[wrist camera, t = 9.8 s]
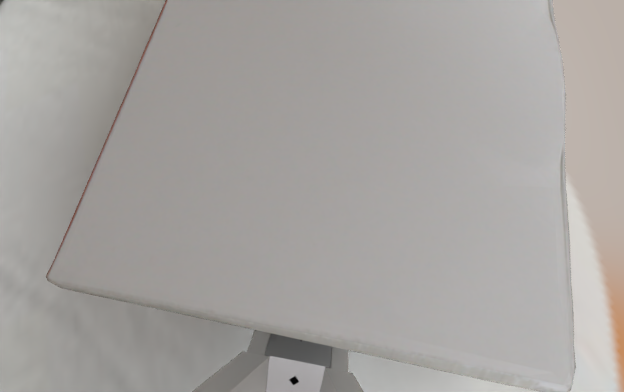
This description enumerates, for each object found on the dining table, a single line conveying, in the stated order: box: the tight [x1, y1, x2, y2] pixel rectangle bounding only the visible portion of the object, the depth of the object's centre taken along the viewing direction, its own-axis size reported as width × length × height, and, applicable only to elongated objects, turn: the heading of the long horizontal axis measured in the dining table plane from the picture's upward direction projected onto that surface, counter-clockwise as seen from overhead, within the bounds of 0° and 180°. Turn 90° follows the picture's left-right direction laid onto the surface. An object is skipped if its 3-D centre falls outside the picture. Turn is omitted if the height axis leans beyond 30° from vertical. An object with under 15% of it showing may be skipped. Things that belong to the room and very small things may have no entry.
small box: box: [46, 0, 576, 392], centre depth 11 cm, size 8×6×13 cm
